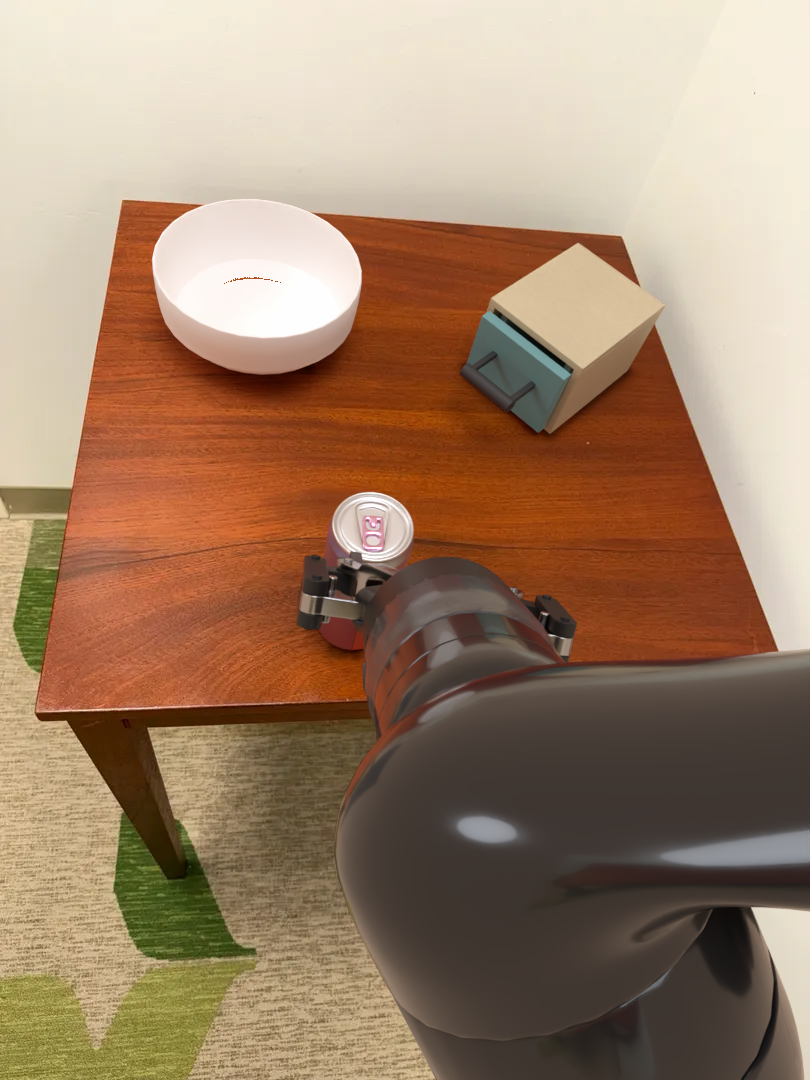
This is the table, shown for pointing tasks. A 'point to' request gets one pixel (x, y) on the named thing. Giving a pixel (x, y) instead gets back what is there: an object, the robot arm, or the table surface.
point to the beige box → (581, 321)
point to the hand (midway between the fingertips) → (420, 579)
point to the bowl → (256, 285)
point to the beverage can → (366, 547)
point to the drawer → (515, 371)
